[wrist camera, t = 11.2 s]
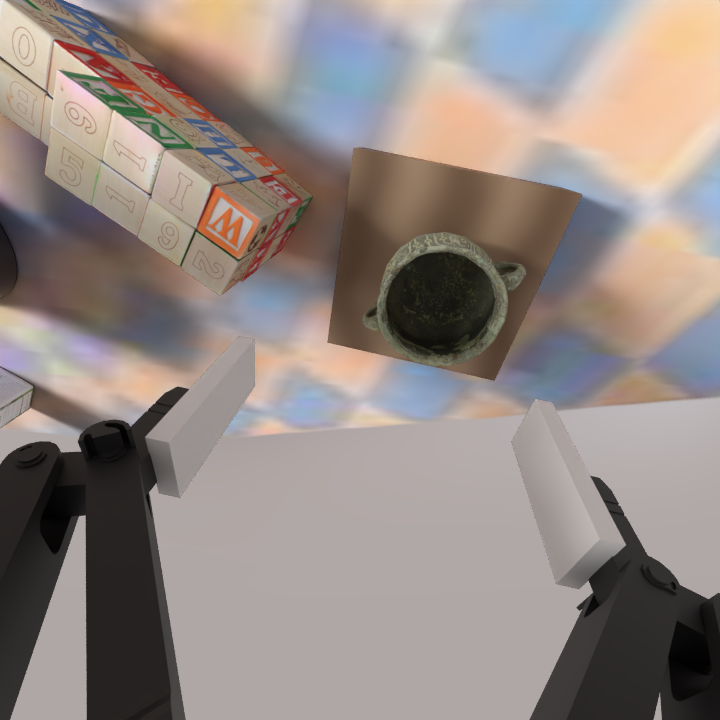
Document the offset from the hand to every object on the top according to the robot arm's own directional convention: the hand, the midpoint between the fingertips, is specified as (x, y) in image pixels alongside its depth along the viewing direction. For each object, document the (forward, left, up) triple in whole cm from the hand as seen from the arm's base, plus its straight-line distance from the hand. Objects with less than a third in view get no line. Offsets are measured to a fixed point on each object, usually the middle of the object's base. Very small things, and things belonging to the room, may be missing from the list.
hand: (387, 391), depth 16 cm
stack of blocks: (-20, +7, -20) cm, 29 cm away
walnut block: (+2, +1, -20) cm, 20 cm away
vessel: (+3, +1, -15) cm, 15 cm away
